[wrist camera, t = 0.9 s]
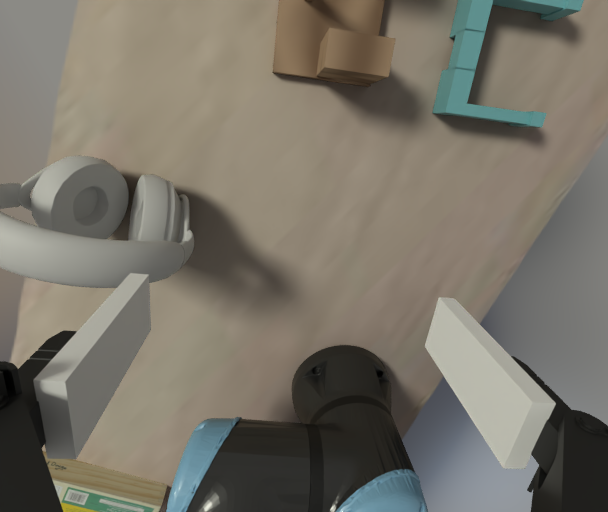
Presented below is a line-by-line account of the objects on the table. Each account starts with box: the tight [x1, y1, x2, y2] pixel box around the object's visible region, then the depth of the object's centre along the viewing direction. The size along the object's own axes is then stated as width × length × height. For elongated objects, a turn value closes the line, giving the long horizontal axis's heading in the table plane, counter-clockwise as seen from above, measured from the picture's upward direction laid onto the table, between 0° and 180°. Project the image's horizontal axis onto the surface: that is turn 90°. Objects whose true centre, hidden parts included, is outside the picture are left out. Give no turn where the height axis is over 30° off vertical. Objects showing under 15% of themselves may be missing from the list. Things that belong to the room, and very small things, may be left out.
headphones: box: [0, 155, 194, 288], centre depth 35 cm, size 18×10×20 cm, turn 72°
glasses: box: [433, 0, 584, 127], centre depth 40 cm, size 12×13×4 cm
